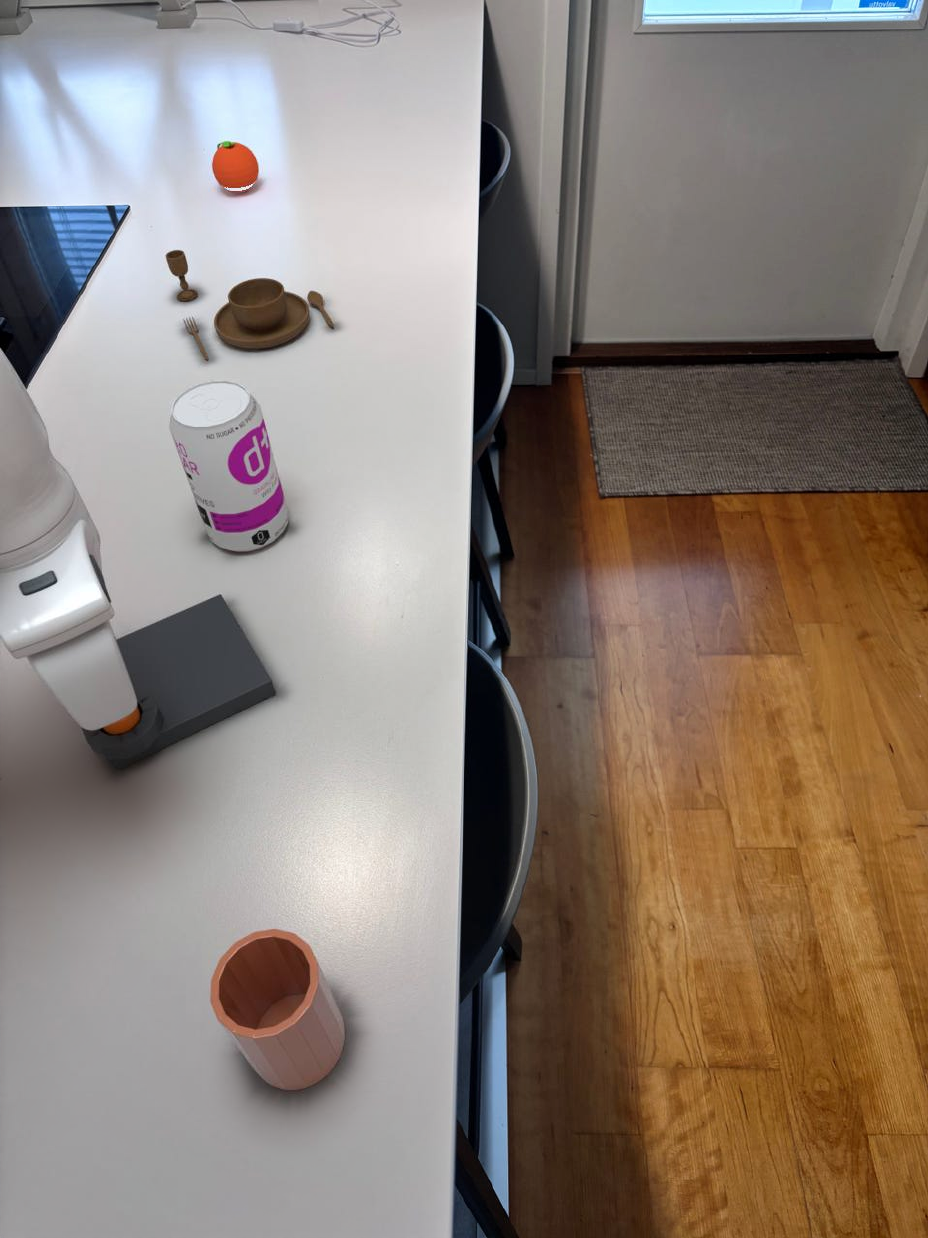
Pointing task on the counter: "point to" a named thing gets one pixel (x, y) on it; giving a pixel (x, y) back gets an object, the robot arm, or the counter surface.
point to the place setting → (251, 310)
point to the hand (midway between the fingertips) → (100, 671)
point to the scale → (184, 679)
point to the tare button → (123, 724)
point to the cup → (278, 1008)
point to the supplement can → (229, 464)
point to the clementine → (234, 165)
